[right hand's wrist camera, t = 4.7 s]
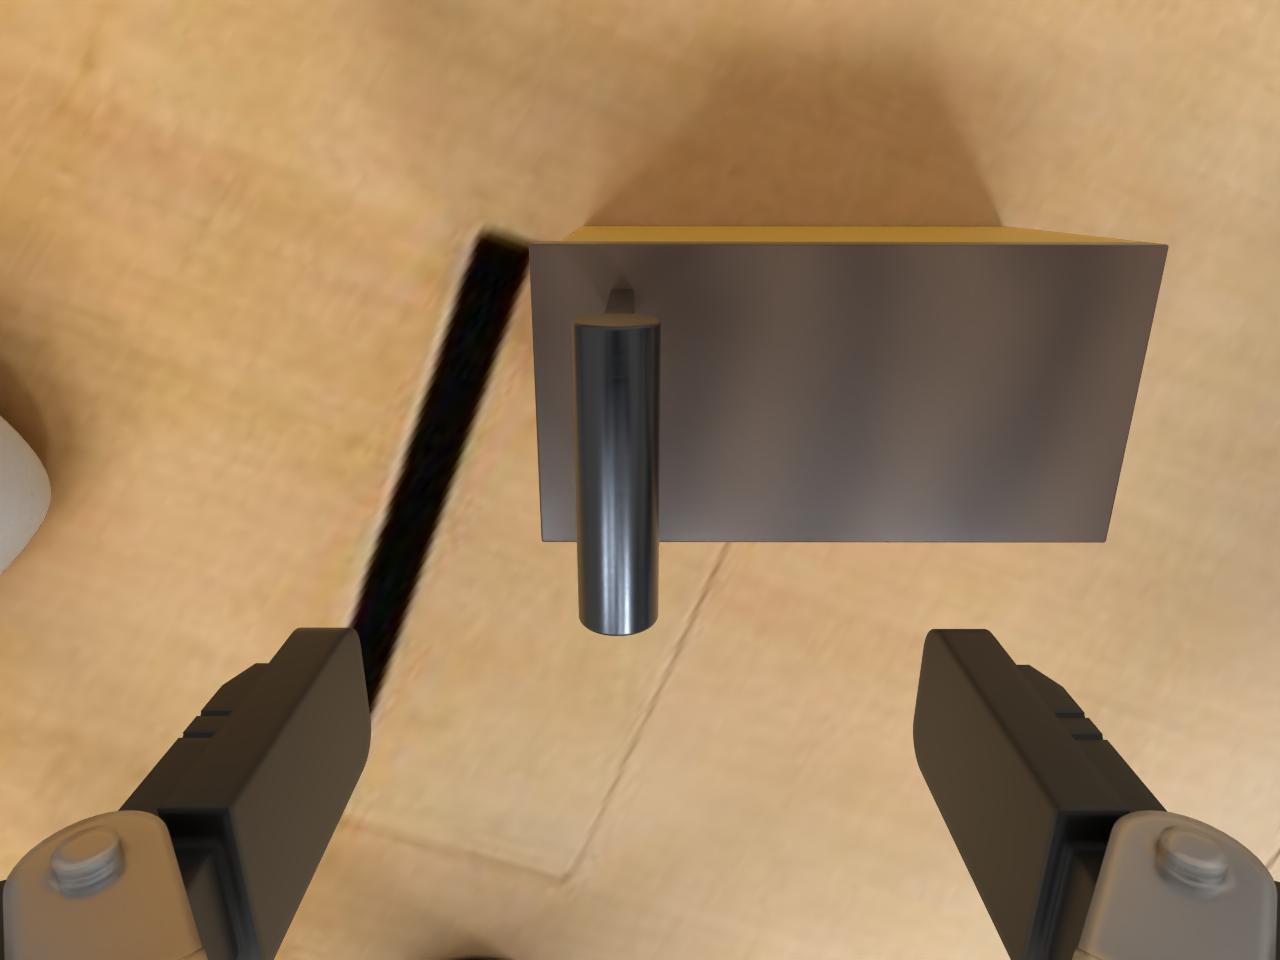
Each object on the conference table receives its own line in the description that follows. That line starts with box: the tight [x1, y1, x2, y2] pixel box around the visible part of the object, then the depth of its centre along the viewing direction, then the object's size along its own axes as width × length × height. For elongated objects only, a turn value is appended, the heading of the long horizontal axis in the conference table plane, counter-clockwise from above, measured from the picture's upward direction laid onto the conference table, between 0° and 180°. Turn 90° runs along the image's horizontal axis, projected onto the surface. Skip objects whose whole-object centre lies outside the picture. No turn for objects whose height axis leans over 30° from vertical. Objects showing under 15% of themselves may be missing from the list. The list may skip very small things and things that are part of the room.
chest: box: [562, 226, 1139, 242], centre depth 31 cm, size 18×9×10 cm, turn 90°
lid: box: [529, 241, 1168, 636], centre depth 22 cm, size 18×9×9 cm, turn 90°
